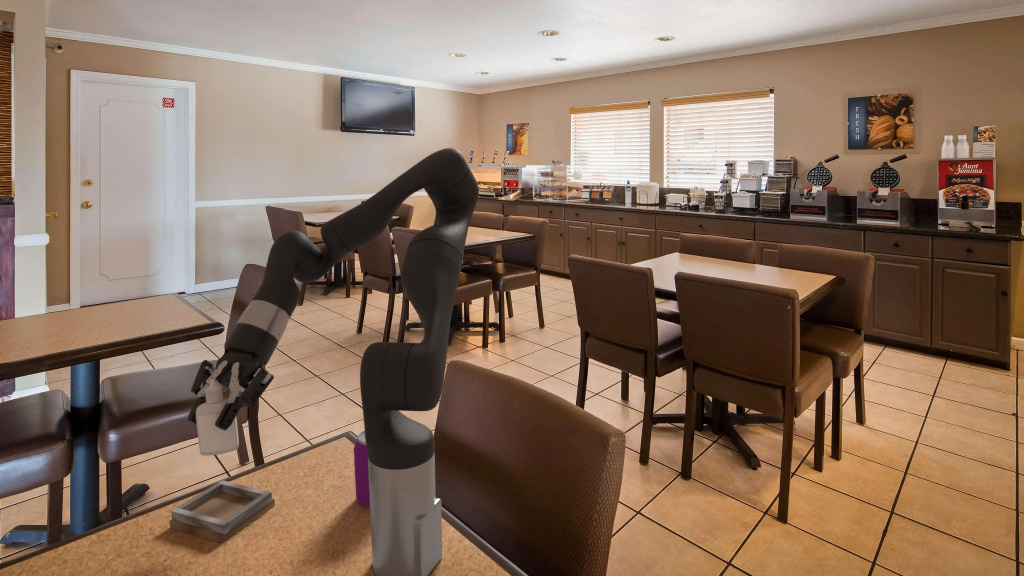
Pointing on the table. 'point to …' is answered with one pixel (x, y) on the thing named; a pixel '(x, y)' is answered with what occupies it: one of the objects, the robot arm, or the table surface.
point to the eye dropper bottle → (208, 433)
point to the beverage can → (361, 471)
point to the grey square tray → (221, 511)
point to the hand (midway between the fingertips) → (206, 425)
